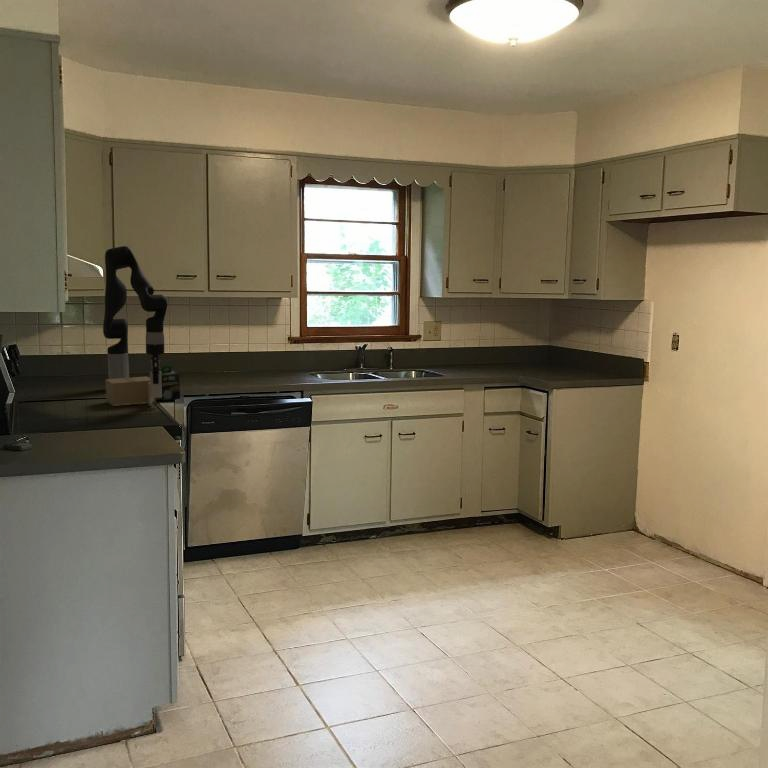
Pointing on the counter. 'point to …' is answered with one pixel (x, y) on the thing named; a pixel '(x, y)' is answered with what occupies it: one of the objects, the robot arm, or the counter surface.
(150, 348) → the robot arm
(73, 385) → the counter surface
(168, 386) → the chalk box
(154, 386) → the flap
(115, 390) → the carton
